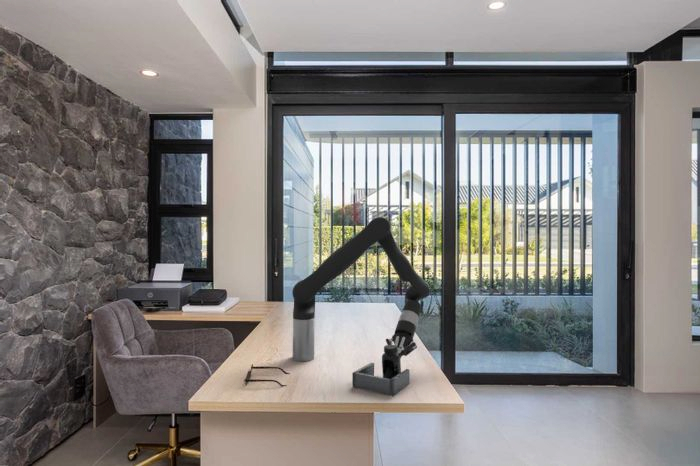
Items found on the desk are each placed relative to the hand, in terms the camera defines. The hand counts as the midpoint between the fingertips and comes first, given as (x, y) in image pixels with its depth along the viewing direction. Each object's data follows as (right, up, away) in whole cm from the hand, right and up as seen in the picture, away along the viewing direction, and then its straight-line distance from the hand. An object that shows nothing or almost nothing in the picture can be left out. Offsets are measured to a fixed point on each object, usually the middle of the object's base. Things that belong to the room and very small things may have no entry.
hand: (394, 363), depth 158 cm
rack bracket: (-5, -5, -8) cm, 11 cm away
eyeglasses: (-46, -5, -4) cm, 47 cm away
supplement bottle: (-1, -5, -3) cm, 6 cm away
